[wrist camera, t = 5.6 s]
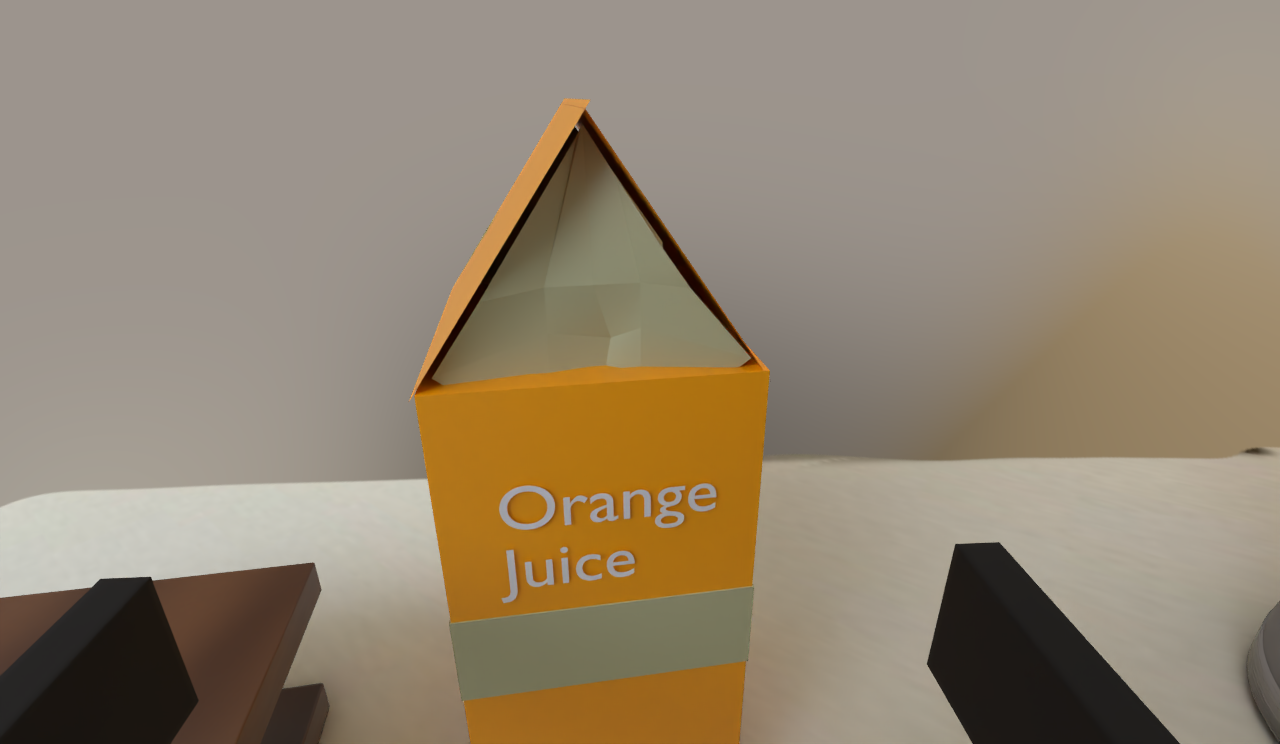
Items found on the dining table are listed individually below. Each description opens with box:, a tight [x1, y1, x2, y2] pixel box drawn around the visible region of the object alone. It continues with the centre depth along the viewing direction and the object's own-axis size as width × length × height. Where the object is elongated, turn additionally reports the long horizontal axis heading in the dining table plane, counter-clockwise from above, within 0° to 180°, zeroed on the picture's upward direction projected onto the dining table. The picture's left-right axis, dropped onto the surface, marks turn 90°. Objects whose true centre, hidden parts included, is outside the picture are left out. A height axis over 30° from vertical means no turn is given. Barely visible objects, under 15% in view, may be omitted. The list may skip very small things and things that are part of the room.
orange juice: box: [410, 99, 770, 744], centre depth 19 cm, size 8×9×20 cm
